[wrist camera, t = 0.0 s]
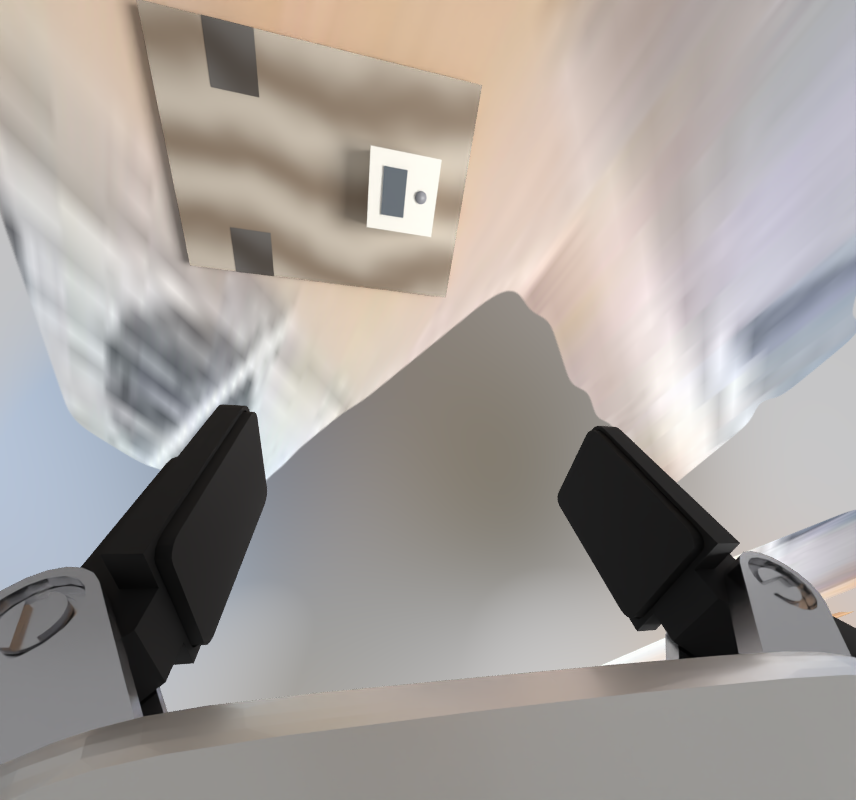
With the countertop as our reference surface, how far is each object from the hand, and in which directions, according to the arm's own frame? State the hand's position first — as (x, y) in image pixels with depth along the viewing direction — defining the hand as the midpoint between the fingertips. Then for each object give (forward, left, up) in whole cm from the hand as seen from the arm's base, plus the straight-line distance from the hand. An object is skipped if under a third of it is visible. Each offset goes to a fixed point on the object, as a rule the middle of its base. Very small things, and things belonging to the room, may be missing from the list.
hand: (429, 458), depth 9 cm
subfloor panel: (-7, -7, -31) cm, 33 cm away
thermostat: (-7, 0, -30) cm, 31 cm away
